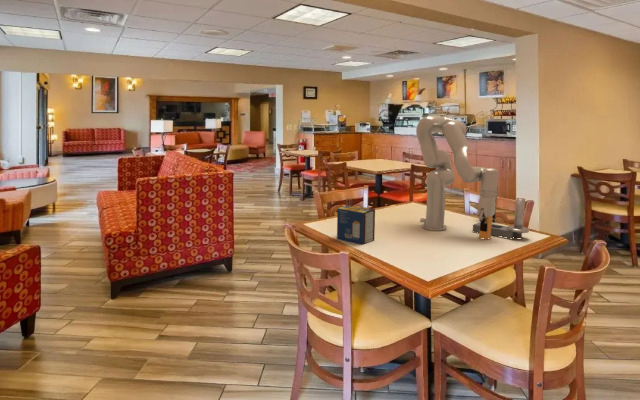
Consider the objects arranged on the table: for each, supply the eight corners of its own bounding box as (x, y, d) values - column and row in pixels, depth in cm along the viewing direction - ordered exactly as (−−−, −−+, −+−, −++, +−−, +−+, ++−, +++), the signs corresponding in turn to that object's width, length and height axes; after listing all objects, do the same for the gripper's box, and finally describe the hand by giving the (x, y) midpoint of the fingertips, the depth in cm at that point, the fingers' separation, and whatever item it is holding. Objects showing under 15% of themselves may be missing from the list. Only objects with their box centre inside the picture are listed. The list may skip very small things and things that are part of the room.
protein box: (348, 234, 214) (349, 204, 211) (374, 240, 204) (375, 208, 201) (336, 239, 206) (336, 207, 203) (362, 245, 196) (363, 212, 193)
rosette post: (502, 238, 210) (506, 198, 206) (510, 234, 217) (514, 196, 213) (523, 242, 203) (527, 201, 199) (531, 238, 210) (535, 198, 206)
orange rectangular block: (479, 238, 209) (480, 214, 207) (482, 236, 212) (484, 213, 210) (486, 239, 206) (488, 215, 204) (490, 238, 209) (492, 214, 207)
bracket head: (472, 231, 221) (473, 224, 221) (480, 229, 228) (480, 221, 227) (511, 239, 207) (512, 231, 207) (518, 236, 214) (519, 228, 213)
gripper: (488, 191, 214) (485, 226, 217) (472, 194, 202) (470, 231, 205) (503, 192, 208) (500, 228, 212) (488, 196, 197) (485, 234, 200)
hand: (485, 229), depth 208 cm, fingers closed on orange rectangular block, 4 cm apart
